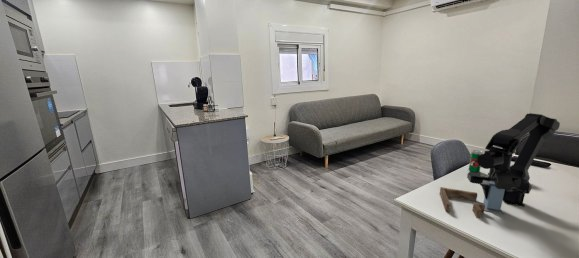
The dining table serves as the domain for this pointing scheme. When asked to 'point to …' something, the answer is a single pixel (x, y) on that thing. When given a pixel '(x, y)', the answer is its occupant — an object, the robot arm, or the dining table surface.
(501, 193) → the slate block
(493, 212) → the grey mat
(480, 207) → the brown angular open frame
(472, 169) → the soda can
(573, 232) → the dining table surface
